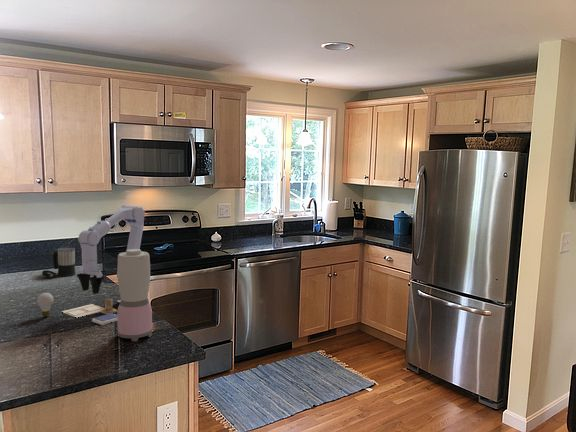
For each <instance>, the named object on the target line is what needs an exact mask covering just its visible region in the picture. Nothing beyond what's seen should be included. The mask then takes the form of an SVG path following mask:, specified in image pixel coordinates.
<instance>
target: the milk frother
mask: <svg viewBox="0 0 576 432" xmlns="http://www.w3.org/2000/svg"><path fill="white" fill-rule="evenodd" d="M75 257H76V248H74V247H61V248H57V250H54V252H53V253H52V260H53V261H52V263H53V269H55V270H57V272H54V271H53V270H47V269H45V270H43V271H42V272H41V275H42V276H43V277H45V278H46V279H49V278H51V279H54V278H56V277H57V276H58V277H72V276H74V275H77V273H76V258H75Z"/></svg>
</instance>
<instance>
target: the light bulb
mask: <svg viewBox="0 0 576 432" xmlns="http://www.w3.org/2000/svg"><path fill="white" fill-rule="evenodd" d="M36 303H37V305H38V306H39V307H40V310H41V313H42V314H41V315H42V316H43V317H45V318H47V317H49V316H50V311H51V307H52V305H53V304H54V296H53V295H52V294H51V293H49V292H43V293H41V294H39V296H38V297H37V299H36Z"/></svg>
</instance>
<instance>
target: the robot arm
mask: <svg viewBox="0 0 576 432" xmlns="http://www.w3.org/2000/svg"><path fill="white" fill-rule="evenodd" d="M145 216H146V211H145V210H144V208H143V207H142V206H140V205H126V204H124V205H121V206H120V207H118V208H117V210H116V212H114V213H113V214H112V215H111V216H110V217H108V218H107V219H106V220H98V221H97V223H95V224H94V225H92V226H90V227H88V229H87V230H82V231H81V232H80V233H79V235H78V237H77V241H78V243H79V244H80V249H81V266H82V267H77V268H78V269H77V270H78V271H77V272H78V273H79V274H77V273H76V277H77V279H78V280H79V283H80V285H81V289H82V291H88V290H89V289H90V285H91V291H92V292H91V293H92V294H93V295H96V294H99V292H100V288H101V285H102V282H103V280H104V277H105V276H103V272H102V271H100V270H99V269H98V249H97V248H98V247H97V246H98V244H99V242H100V241H101V238H102V237H104V236H105V235H106V234H109V232H110V231H111V228H112V227H113V226H115V225H116V224H118V223H120V222H121V221H124V222H126V223H127V224H128V225H129V226H130V231H129V236H128V241H127V246H126V250H129V249H140V248H141V243H142V239H143V238H142V237H143V232H144V225H145V223H144V221H145ZM140 250H141V249H140ZM91 276H92V277H91ZM116 278H117V280H118V272H116ZM116 302H117V303H119V304H120V302H121V299H119V300H117V301H116Z"/></svg>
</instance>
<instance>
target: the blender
mask: <svg viewBox="0 0 576 432" xmlns="http://www.w3.org/2000/svg"><path fill="white" fill-rule="evenodd" d="M150 258H151V257H150V253H149V252H147V251H142V249H129V250H127V249H126V250H125V252H123V251H122V252H120V253H119V254H117V269H116V270H117V272H118V279H117V285H118V286H117V287H118V291H119V295H120V300H121V302H120V303H119V305H118V307H117V313H116V315H117V321H116V323H117V336H119V337H120V338H122V339H131V342H132V341H134V342H138V341H139V338H144V337H147V338H150V337H152V335H153V311H152V310H153V309H152V305H151V303H150V301H149V291H150V283H151V262H150V260H151V259H150ZM117 272H116V273H117Z"/></svg>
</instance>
